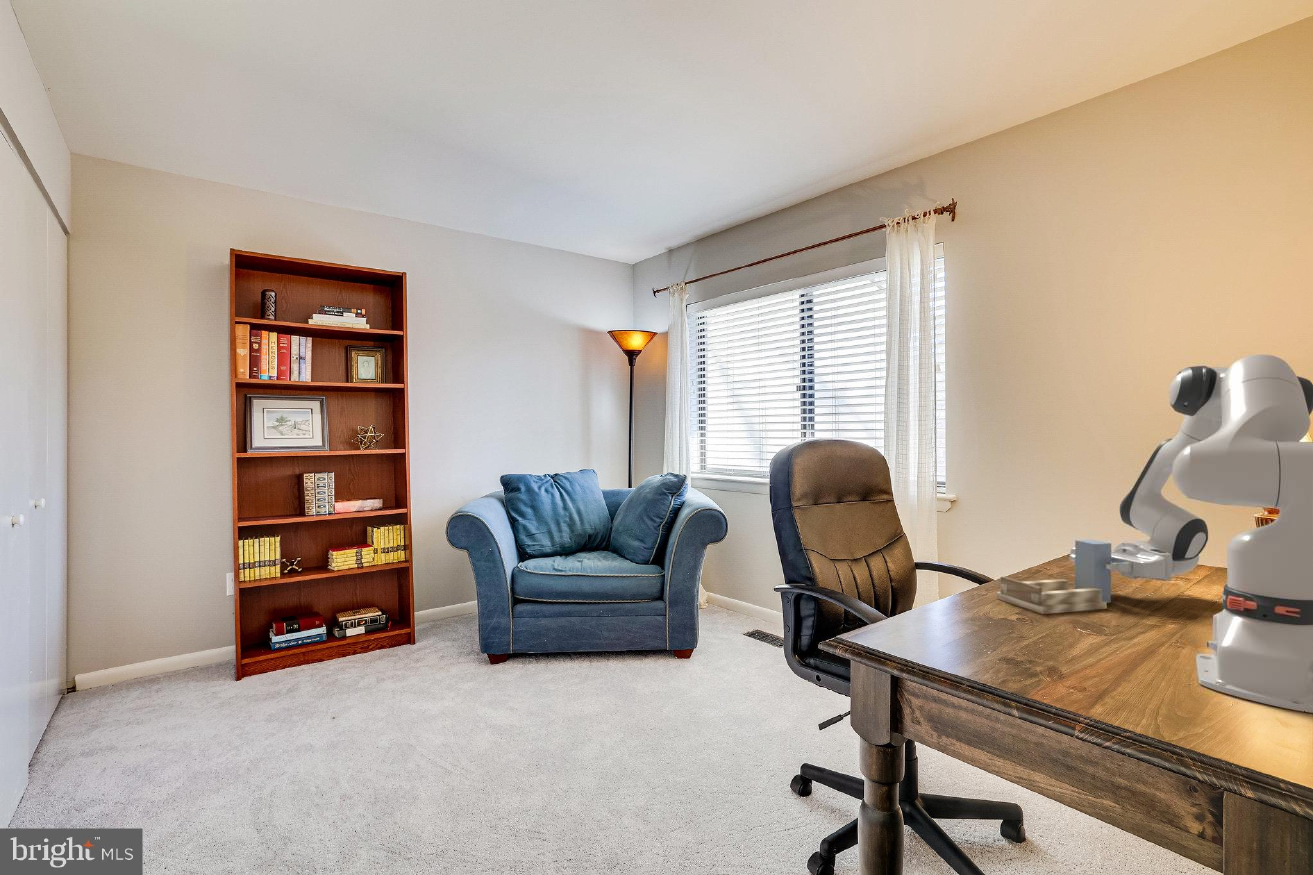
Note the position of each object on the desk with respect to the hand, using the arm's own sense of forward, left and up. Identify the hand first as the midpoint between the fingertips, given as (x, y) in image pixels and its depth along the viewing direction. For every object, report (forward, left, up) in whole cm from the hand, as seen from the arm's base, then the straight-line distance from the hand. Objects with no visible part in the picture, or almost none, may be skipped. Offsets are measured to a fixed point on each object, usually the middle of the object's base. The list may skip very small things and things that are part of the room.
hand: (1089, 562), depth 148 cm
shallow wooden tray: (-10, +5, -9) cm, 15 cm away
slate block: (+1, 0, -9) cm, 9 cm away
